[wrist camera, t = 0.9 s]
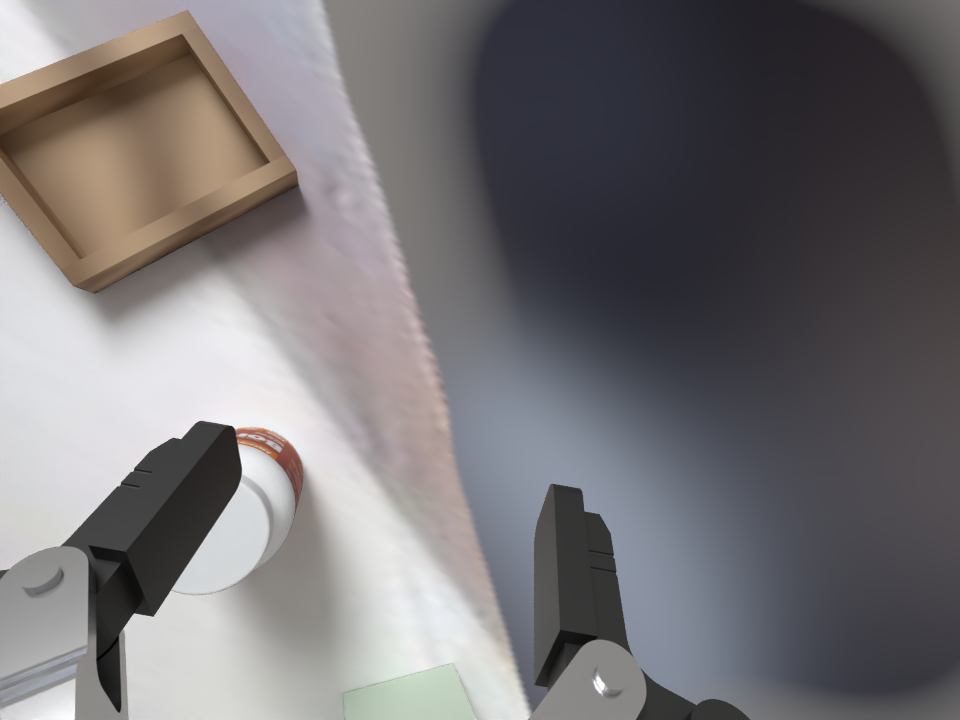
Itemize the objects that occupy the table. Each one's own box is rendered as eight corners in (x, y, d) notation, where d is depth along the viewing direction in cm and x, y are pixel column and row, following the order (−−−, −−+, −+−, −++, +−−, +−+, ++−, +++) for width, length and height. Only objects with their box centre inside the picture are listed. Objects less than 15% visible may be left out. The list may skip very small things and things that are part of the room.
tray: (94, 293, 27) (73, 286, 25) (-30, 133, 26) (-65, 110, 24) (298, 184, 31) (296, 169, 28) (198, 38, 29) (187, 9, 27)
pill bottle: (298, 419, 30) (283, 444, 20) (308, 516, 30) (299, 593, 20) (186, 433, 29) (103, 470, 18) (197, 537, 29) (121, 635, 18)
